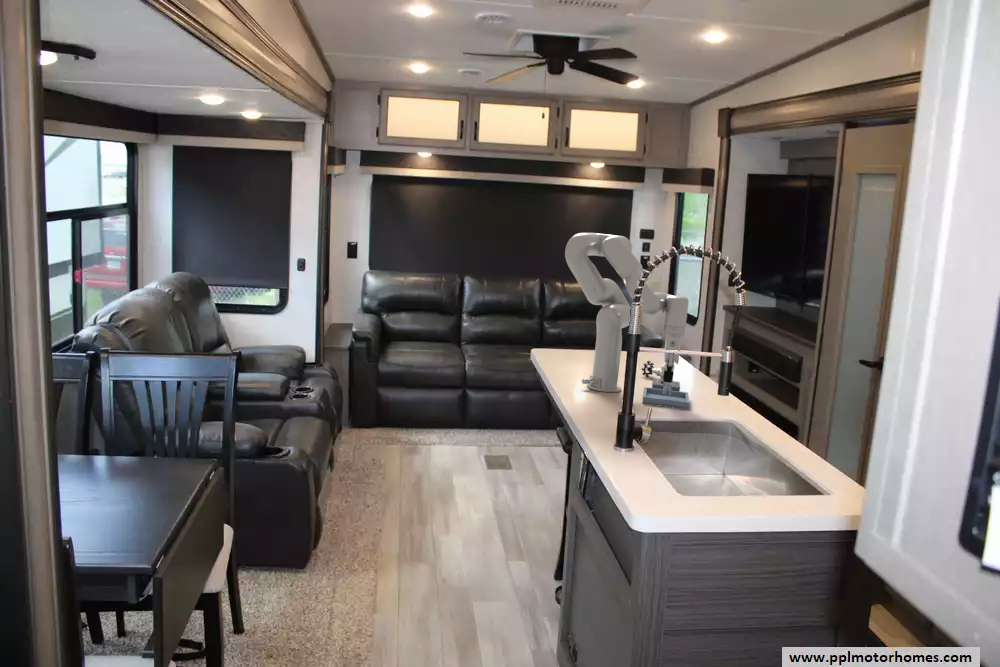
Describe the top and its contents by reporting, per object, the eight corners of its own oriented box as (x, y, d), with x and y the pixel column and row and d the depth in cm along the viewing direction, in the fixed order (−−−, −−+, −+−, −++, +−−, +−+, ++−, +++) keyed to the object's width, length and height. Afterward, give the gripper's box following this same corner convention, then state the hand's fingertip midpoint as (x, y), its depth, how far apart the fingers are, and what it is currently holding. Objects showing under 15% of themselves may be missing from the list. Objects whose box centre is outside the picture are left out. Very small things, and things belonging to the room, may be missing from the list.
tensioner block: (678, 396, 310) (680, 387, 309) (651, 393, 312) (652, 384, 311) (678, 390, 320) (679, 381, 319) (651, 387, 321) (653, 378, 321)
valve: (673, 382, 334) (651, 376, 343) (675, 366, 332) (653, 360, 342) (662, 384, 330) (640, 377, 339) (664, 367, 329) (642, 361, 338)
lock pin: (666, 394, 298) (670, 365, 297) (660, 392, 301) (663, 363, 299) (673, 394, 300) (676, 365, 298) (666, 392, 303) (669, 363, 301)
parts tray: (688, 409, 292) (689, 402, 292) (642, 403, 295) (643, 396, 294) (687, 399, 308) (688, 392, 307) (643, 393, 310) (644, 386, 310)
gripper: (685, 335, 288) (678, 387, 291) (684, 328, 304) (677, 377, 307) (663, 332, 289) (656, 384, 293) (663, 326, 305) (657, 375, 308)
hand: (667, 380), depth 300 cm, fingers closed on lock pin, 2 cm apart
